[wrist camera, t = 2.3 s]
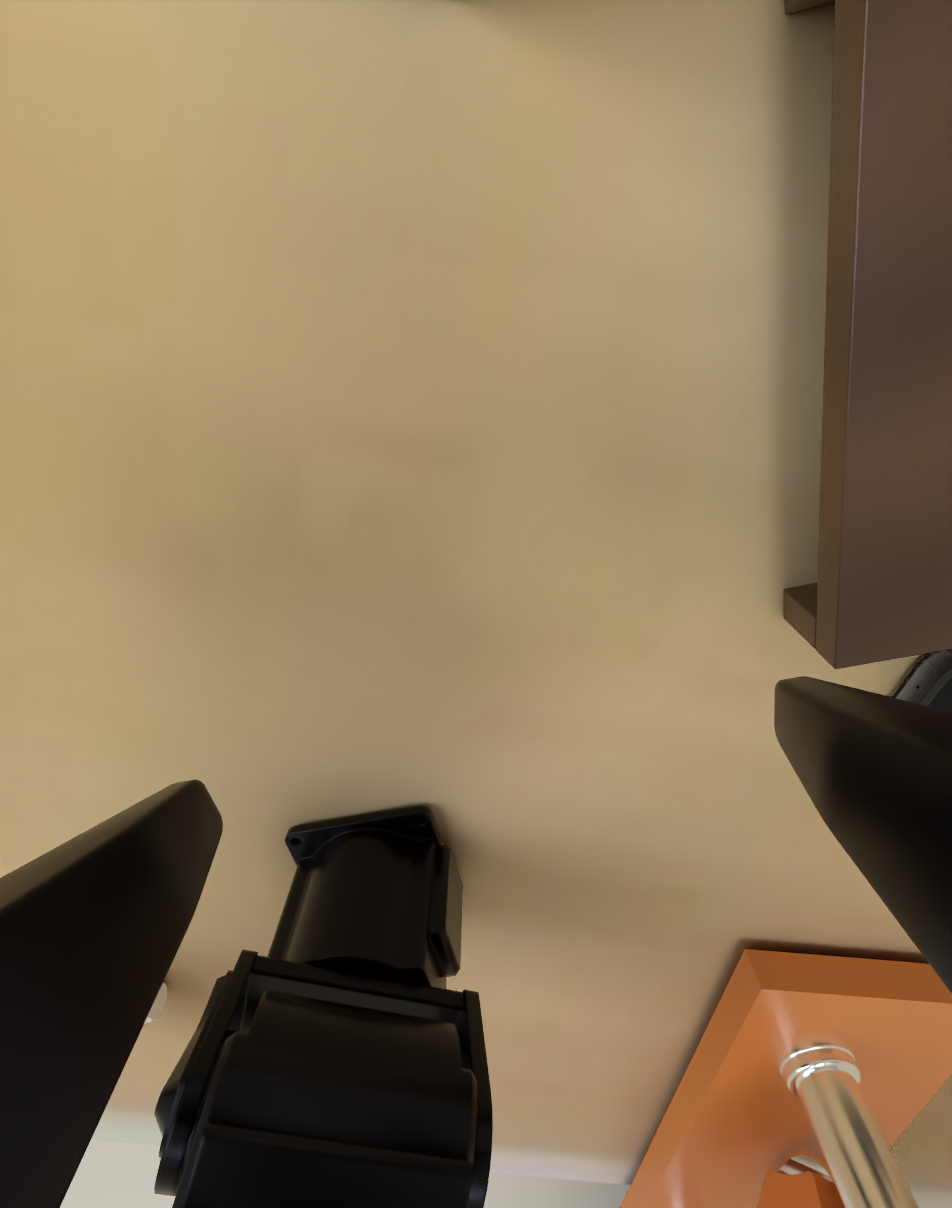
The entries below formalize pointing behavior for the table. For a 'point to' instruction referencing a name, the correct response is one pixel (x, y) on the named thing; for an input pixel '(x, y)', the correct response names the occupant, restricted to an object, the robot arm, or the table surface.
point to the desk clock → (802, 1087)
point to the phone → (930, 682)
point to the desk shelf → (886, 341)
